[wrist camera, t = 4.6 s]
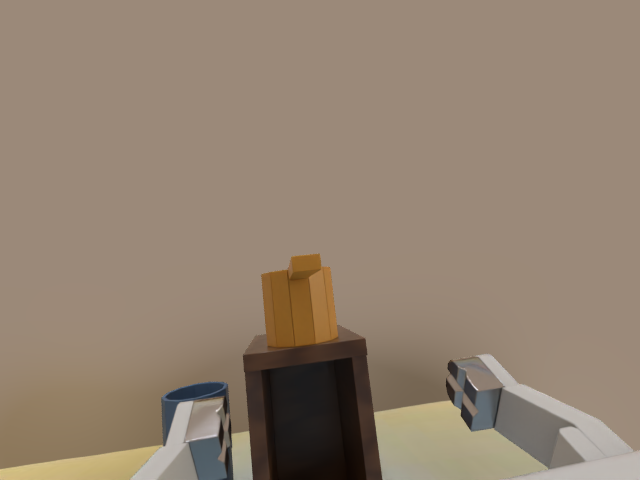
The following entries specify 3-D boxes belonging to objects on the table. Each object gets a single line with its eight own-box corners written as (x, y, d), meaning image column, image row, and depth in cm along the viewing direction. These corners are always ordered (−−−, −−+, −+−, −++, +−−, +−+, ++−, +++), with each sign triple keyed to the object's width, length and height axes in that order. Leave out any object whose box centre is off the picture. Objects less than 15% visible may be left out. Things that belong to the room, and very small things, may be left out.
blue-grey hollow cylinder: (157, 556, 33) (152, 404, 35) (179, 511, 40) (173, 386, 42) (231, 541, 34) (221, 394, 36) (239, 499, 40) (231, 378, 43)
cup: (375, 364, 20) (360, 249, 21) (258, 381, 19) (248, 260, 20) (331, 332, 38) (324, 270, 39) (269, 340, 37) (263, 276, 38)
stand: (261, 605, 26) (242, 354, 29) (268, 498, 40) (255, 335, 43) (395, 574, 28) (365, 338, 30) (357, 481, 41) (339, 324, 44)
